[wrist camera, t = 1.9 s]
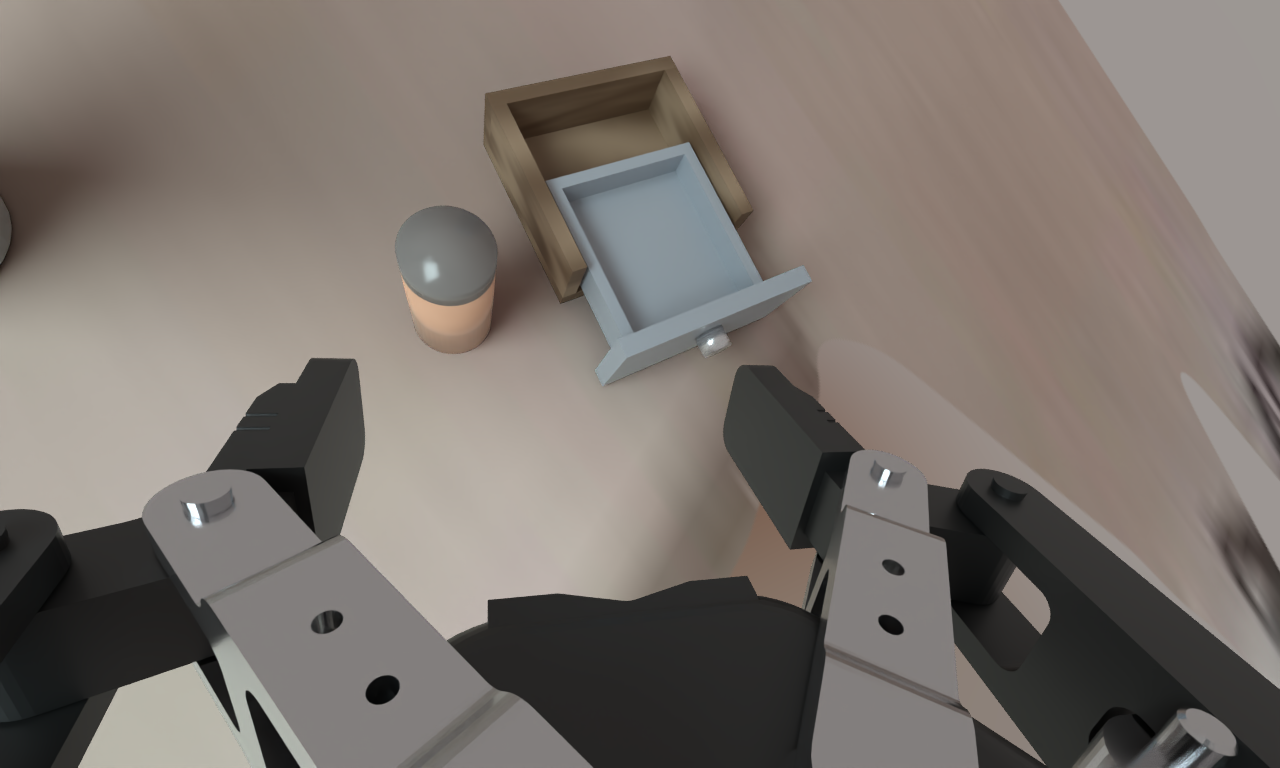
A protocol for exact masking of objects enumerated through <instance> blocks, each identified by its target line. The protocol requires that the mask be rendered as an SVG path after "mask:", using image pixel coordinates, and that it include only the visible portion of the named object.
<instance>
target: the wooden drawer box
mask: <svg viewBox="0 0 1280 768" xmlns="http://www.w3.org/2000/svg"><path fill="white" fill-rule="evenodd" d="M687 142H689V143H690V145H691V147H692V149H693V151H694V152H695V154H696V156H697V158H698V160H699V162H700V164H701V166H702V167H703V169H704V171H705V173H706V175H707V177H708V179H709V181H710V183H711V184H712V186H713V188H714V190H715V192H716V194H717V196H718V198H719V199H720V201H721V203H722V205H723V207H724V209H725V211H726V213H727V214H728V216H729V218H730V220H731V222H732V224H733V226H734V228H735V230H737V229H738V228H739V227H740V226H741V224H742V223H743V222H744V221H745V220H746V219H747V217H748V216H749V215H750V214H751V213H752V212H753V209H752V207H751V205H750V203H749V201H748V199H747V198H746V196H745V194H744V192H743V190H742V188H741V186H740V185H739V183H738V181H737V179H736V177H735V175H734V173H733V172H732V170H731V168H730V166H729V164H728V162H727V160H726V159H725V157H724V155H723V153H722V151H721V149H720V147H719V146H718V144H717V142H716V140H715V138H714V136H713V134H712V133H711V131H710V129H709V127H708V125H707V123H706V121H705V120H704V118H703V116H702V114H701V112H700V110H699V108H698V107H697V105H696V103H695V101H694V99H693V97H692V95H691V94H690V92H689V90H688V88H687V86H686V84H685V82H684V81H683V79H682V77H681V75H680V73H679V71H678V69H677V68H676V66H675V64H674V62H673V60H672V58H671V56H668V57H663V58H658V59H653V60H648V61H643V62H638V63H633V64H628V65H623V66H618V67H613V68H609V69H604V70H599V71H594V72H589V73H584V74H579V75H574V76H569V77H564V78H559V79H555V80H550V81H545V82H540V83H535V84H530V85H525V86H520V87H515V88H510V89H505V90H500V91H496V92H491V93H486V94H485V117H484V146H485V148H486V150H487V152H488V155H489V157H490V159H491V161H492V163H493V165H494V167H495V169H496V171H497V173H498V175H499V177H500V179H501V181H502V184H503V186H504V188H505V190H506V192H507V194H508V196H509V198H510V200H511V202H512V204H513V206H514V208H515V210H516V213H517V215H518V217H519V219H520V221H521V223H522V225H523V227H524V229H525V231H526V233H527V235H528V237H529V239H530V241H531V244H532V246H533V248H534V250H535V252H536V254H537V256H538V258H539V260H540V262H541V264H542V266H543V268H544V270H545V273H546V275H547V277H548V279H549V281H550V283H551V285H552V287H553V289H554V291H555V293H556V295H557V297H558V299H559V302H560V304H561V303H564V302H566V301H569V300H572V299H575V298H578V297H580V296H583V295H585V294H584V292H583V290H582V288H581V286H580V283H581V280H582V278H583V276H584V273H585V271H586V269H587V265H586V263H585V261H584V259H583V257H582V255H581V253H580V251H579V249H578V247H577V245H576V243H575V241H574V239H573V237H572V235H571V233H570V231H569V229H568V227H567V225H566V223H565V221H564V219H563V217H562V215H561V213H560V211H559V209H558V207H557V205H556V203H555V201H554V199H553V197H552V194H551V192H550V190H549V188H548V186H547V184H546V182H545V181H547V180H551V179H555V178H558V177H562V176H566V175H570V174H573V173H577V172H581V171H584V170H588V169H592V168H595V167H599V166H603V165H606V164H610V163H614V162H617V161H621V160H625V159H628V158H632V157H636V156H639V155H643V154H647V153H651V152H654V151H658V150H662V149H665V148H669V147H673V146H676V145H680V144H684V143H687Z"/></svg>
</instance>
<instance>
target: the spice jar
mask: <svg viewBox="0 0 1280 768" xmlns="http://www.w3.org/2000/svg"><path fill="white" fill-rule="evenodd" d="M395 252H396V257H397V261H398V265H399V269H400V273H401V277H402V281H403V284H404V288H405V292H406V296H407V300H408V304H409V308H410V312H411V315H412V319H413V323H414V327H415V330H416V332H417V334H418V336H419V337H420V339H421V340H422V341H423V342H424V343H425V344H426V345H428V346H429V347H431V348H432V349H434V350H436V351H439V352H442V353H447V354H459V353H464V352H468V351H470V350H472V349H474V348H476V347H477V346H478V345H480V344H481V343H482V342H483V341H484V339H485V338H486V336H487V335H488V333H489V330H490V326H491V318H492V308H493V297H494V287H495V277H496V266H497V254H498V251H497V244H496V240H495V238H494V235H493V234H492V232H491V230H490V229H489V227H488V226H487V225H486V224H485V223H484V222H483V221H482V220H481V219H480V218H479V217H477V216H476V215H474V214H472V213H470V212H468V211H466V210H464V209H461V208H457V207H452V206H434V207H429V208H426V209H423V210H421V211H419V212H417V213H415V214H413V215H412V216H411V217H410V218H408V219H407V220H406V221H405V222H404V224H403V225H402V226H401V228H400V230H399V232H398V234H397V238H396V243H395Z"/></svg>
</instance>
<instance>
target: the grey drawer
mask: <svg viewBox="0 0 1280 768" xmlns="http://www.w3.org/2000/svg"><path fill="white" fill-rule="evenodd" d="M545 182H546V184H547V186H548V188H549V190H550V192H551V194H552V197H553V199H554V201H555V203H556V205H557V207H558V209H559V211H560V213H561V215H562V217H563V219H564V221H565V223H566V225H567V227H568V229H569V231H570V233H571V235H572V237H573V239H574V241H575V243H576V245H577V247H578V249H579V251H580V253H581V255H582V257H583V259H584V261H585V263H586V265H587V269H586V271H585V273H584V276H583V278H582V280H581V283H580V286H581V288H582V290H583V292H584V294H585V296H586V298H587V301H588V303H589V305H590V307H591V309H592V311H593V313H594V315H595V317H596V319H597V321H598V323H599V325H600V327H601V329H602V331H603V333H604V335H605V337H606V339H607V341H608V343H609V345H610V348H611V349H610V350H609V352H608V353H607V354H606V356H605V357H604V359H603V360H602V361H601V363H600V364H599V365H598V367H597V368H596V369H595V372H596V374H597V376H598V378H599V380H600V382H601V384H602V386H605V385H607V384H609V383H612V382H614V381H616V380H619V379H621V378H623V377H626V376H628V375H630V374H633V373H635V372H637V371H640V370H642V369H644V368H647V367H649V366H651V365H654V364H656V363H658V362H661V361H663V360H665V359H668V358H670V357H672V356H675V355H677V354H679V353H682V352H684V351H686V350H689V349H691V348H693V347H696V346H698V347H699V349H700V351H701V353H702V355H703V357H704V358H708V357H710V356H713V355H715V354H717V353H719V352H721V351H723V350H725V349H726V348H728V347H729V346H731V345H732V343H731V341H730V339H729V337H728V336H727V334H726V333H728V332H731V331H733V330H735V329H738V328H740V327H742V326H745V325H747V324H749V323H752V322H754V321H756V320H759V319H761V318H763V317H765V316H767V315H768V314H769V313H771V312H772V311H773V310H775V309H776V308H777V307H779V306H780V305H781V304H782V303H784V302H785V301H786V300H788V299H789V298H790V297H792V296H793V295H794V294H796V293H797V292H798V291H800V290H801V289H802V288H804V287H805V286H806V285H807V284H809V283H810V282H811V281H812V280H811V278H810V276H809V274H808V273H807V271H806V269H805V267H804V265H802V266H800V267H797V268H795V269H792V270H790V271H787V272H785V273H782V274H780V275H777V276H775V277H772V278H770V279H767V280H765V281H763V280H762V278H761V276H760V275H759V273H758V271H757V269H756V267H755V265H754V263H753V261H752V260H751V258H750V256H749V254H748V252H747V250H746V248H745V246H744V245H743V243H742V241H741V239H740V237H739V235H738V233H737V231H736V230H735V228H734V226H733V224H732V222H731V220H730V218H729V216H728V214H727V213H726V211H725V209H724V207H723V205H722V203H721V201H720V199H719V198H718V196H717V194H716V192H715V190H714V188H713V186H712V184H711V183H710V181H709V179H708V177H707V175H706V173H705V171H704V169H703V167H702V166H701V164H700V162H699V160H698V158H697V156H696V154H695V152H694V151H693V149H692V147H691V145H690V143H689V142H687V143H684V144H680V145H676V146H673V147H669V148H665V149H662V150H658V151H654V152H651V153H647V154H643V155H639V156H636V157H632V158H628V159H625V160H621V161H617V162H614V163H610V164H606V165H603V166H599V167H595V168H592V169H588V170H584V171H581V172H577V173H573V174H570V175H566V176H562V177H558V178H555V179H551V180H547V181H545Z"/></svg>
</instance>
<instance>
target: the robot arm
mask: <svg viewBox="0 0 1280 768" xmlns="http://www.w3.org/2000/svg"><path fill="white" fill-rule="evenodd" d="M11 230H12V226H11V221H10V216H9V211H8V210H7V208H6V206H5V204H4V202H3V200H2V198H1V197H0V264H1V262H2V261H3V260H4V258H5V255H6V253H7V250H8V248H9V245H10V240H11ZM236 428H237V430H236V431H234V432H233V433H232V434H231V436H230V437H229V439H228V440H227V442H226V443H225V445H224V446H223V448H222V449H221V451H220V452H219V454H218V455H217V457H216V458H215V460H214V461H213V463H212V464H211V465H210V467H209V468H208V470H207V471H206V472H204V473H200V474H196V475H193V476H190V477H187V478H184V479H182V480H179V481H177V482H175V483H173V484H171V485H169V486H167V487H166V488H164V489H162V490H161V491H159V492H158V493H157V494H155V495H154V496H153V497H152V498H151V499H150V500H149V501H148V503H147V504H146V506H145V507H144V510H143V512H142V518H138V519H135V520H132V521H128V522H124V523H119V524H115V525H110V526H106V527H101V528H97V529H92V530H88V531H83V532H79V533H74V534H70V535H65V536H63V535H62V533H61V530H60V528H59V526H58V524H57V522H56V520H55V518H53V517H52V516H51V515H49V514H47V513H45V512H41V511H37V510H27V509H15V510H4V511H0V768H78V766H79V764H80V762H81V760H82V758H83V756H84V754H85V752H86V750H87V748H88V746H89V744H90V742H91V740H92V738H93V736H94V734H95V733H96V731H97V729H98V727H99V725H100V723H101V721H102V719H103V717H104V715H105V713H106V711H107V709H108V707H109V705H110V703H111V701H112V699H113V697H114V695H115V693H116V691H117V689H118V688H119V687H122V686H125V685H128V684H131V683H134V682H137V681H140V680H143V679H146V678H149V677H152V676H155V675H158V674H161V673H164V672H167V671H169V670H172V669H175V668H178V667H181V666H184V665H187V664H190V663H192V664H193V666H194V668H195V670H196V672H197V673H198V675H199V677H200V679H201V680H202V682H203V684H204V685H205V687H206V689H207V691H208V692H209V694H210V696H211V697H212V699H213V701H214V703H215V704H216V706H217V708H218V710H219V711H220V713H221V715H222V716H223V718H224V720H225V722H226V723H227V725H228V727H229V728H230V730H231V732H232V734H233V735H234V737H235V739H236V741H237V742H238V744H239V746H240V747H241V749H242V751H243V753H244V755H245V757H246V759H247V761H248V763H249V765H250V767H251V768H1280V689H1278V688H1277V687H1276V686H1275V685H1274V684H1272V683H1271V682H1270V681H1269V680H1268V679H1266V678H1265V677H1264V676H1263V675H1261V674H1260V673H1259V672H1258V671H1257V670H1255V669H1254V668H1253V667H1252V666H1250V665H1249V664H1248V663H1247V662H1246V661H1244V660H1243V659H1242V658H1241V657H1239V656H1238V655H1237V654H1236V653H1235V652H1233V651H1232V650H1231V649H1230V648H1228V647H1227V646H1226V645H1225V644H1224V643H1222V642H1221V641H1220V640H1219V639H1218V638H1216V637H1215V636H1214V635H1213V634H1211V633H1210V632H1209V631H1208V630H1206V629H1205V628H1204V627H1203V626H1202V625H1200V624H1199V623H1198V622H1197V621H1196V620H1194V619H1193V618H1192V617H1191V616H1189V615H1188V614H1187V613H1186V612H1185V611H1183V610H1182V609H1181V608H1180V607H1179V606H1177V605H1176V604H1175V603H1174V602H1172V601H1171V600H1170V599H1169V598H1168V597H1166V596H1165V595H1164V594H1163V593H1161V592H1160V591H1159V590H1158V589H1157V588H1155V587H1154V586H1153V585H1152V584H1150V583H1149V582H1148V581H1147V580H1146V579H1144V578H1143V577H1142V576H1141V575H1140V574H1138V573H1137V572H1136V571H1135V570H1133V569H1132V568H1131V567H1129V566H1128V565H1127V564H1126V563H1125V562H1124V561H1122V560H1121V559H1120V558H1118V557H1117V556H1116V555H1115V554H1114V553H1113V552H1111V551H1110V550H1109V549H1108V548H1106V547H1105V546H1104V545H1103V544H1102V543H1101V542H1099V541H1098V540H1097V539H1096V538H1094V537H1093V536H1092V535H1091V534H1089V533H1088V532H1087V531H1086V530H1085V529H1083V528H1082V527H1081V526H1080V525H1079V524H1077V523H1076V522H1075V521H1074V520H1072V519H1071V518H1070V517H1069V516H1068V515H1066V514H1065V513H1064V512H1063V511H1061V510H1060V509H1059V508H1058V507H1057V506H1055V505H1054V504H1053V503H1052V502H1051V501H1049V500H1048V499H1047V498H1045V497H1044V496H1043V495H1042V494H1041V493H1040V492H1038V491H1037V490H1036V489H1034V488H1033V487H1031V486H1030V485H1028V484H1027V483H1025V482H1023V481H1021V480H1019V479H1017V478H1015V477H1013V476H1010V475H1008V474H1005V473H1002V472H998V471H994V470H989V469H975V470H972V471H970V472H969V473H968V474H967V476H966V478H965V480H964V482H963V484H962V486H961V488H960V490H958V489H952V488H946V487H940V486H934V485H929V484H927V480H926V478H925V476H924V475H923V473H922V472H921V471H920V470H919V469H918V468H916V467H915V466H914V465H912V464H911V463H909V462H908V461H906V460H904V459H902V458H900V457H898V456H895V455H893V454H890V453H886V452H883V451H878V450H865V449H864V448H863V447H862V446H861V445H860V444H859V443H858V442H857V441H856V440H855V439H854V438H853V437H852V436H851V435H850V434H849V433H848V432H847V431H846V430H845V429H844V428H843V427H842V426H841V425H840V424H839V423H838V422H837V423H836V422H835V419H834V418H833V417H832V416H831V415H830V414H829V413H828V412H825V409H824V408H823V407H822V406H821V405H820V404H819V403H818V402H817V401H816V400H815V399H814V398H813V397H812V396H810V395H808V394H807V393H805V392H803V391H802V390H800V389H798V388H796V387H795V386H793V385H792V384H791V383H790V382H789V380H788V379H787V378H786V377H785V376H784V375H783V374H782V373H781V372H780V371H779V370H778V369H777V368H776V367H775V366H768V365H742V366H740V367H739V368H738V370H737V372H736V375H735V378H734V383H733V387H732V391H731V396H730V400H729V404H728V408H727V413H726V417H725V421H724V428H723V436H724V443H725V446H726V449H727V451H728V452H729V454H730V456H731V457H732V459H733V460H734V462H735V463H736V465H737V467H738V468H739V470H740V471H741V473H742V475H743V476H744V478H745V479H746V481H747V482H748V484H749V486H750V487H751V489H752V490H753V492H754V494H755V495H756V497H757V498H758V500H759V501H760V503H761V505H762V506H763V508H764V509H765V511H766V512H767V514H768V516H769V517H770V519H771V520H772V522H773V523H774V525H775V526H776V528H777V530H778V531H779V533H780V534H781V536H782V538H783V539H784V541H785V543H786V544H787V546H788V547H789V549H802V548H815V549H816V551H817V552H816V555H815V558H814V560H813V563H812V566H811V570H810V575H809V579H808V584H807V588H806V592H805V597H804V601H803V605H802V608H799V607H797V606H794V605H792V604H789V603H786V602H783V601H780V600H776V599H772V598H767V597H763V596H757V594H756V592H755V590H754V588H753V586H752V584H751V582H750V581H749V579H748V577H747V576H740V577H730V578H719V579H708V580H698V581H689V582H686V583H683V584H680V585H677V586H674V587H671V588H668V589H665V590H662V591H659V592H656V593H653V594H651V595H648V596H645V597H642V598H639V599H636V600H632V601H619V600H610V599H601V598H593V597H584V596H575V595H566V594H548V595H537V596H526V597H515V598H505V599H494V600H488V622H487V623H484V624H481V625H478V626H476V627H473V628H471V629H468V630H466V631H464V632H462V633H459V634H457V635H455V636H454V637H452V638H450V639H448V640H447V641H446V640H445V639H444V638H443V636H442V635H441V634H440V633H439V632H438V631H437V630H436V629H435V628H434V627H433V626H432V625H431V624H430V623H429V622H428V621H427V620H426V619H425V618H424V617H423V616H422V615H421V614H420V613H419V612H418V611H417V610H416V609H415V608H414V607H413V606H412V605H411V604H410V603H409V602H408V601H407V600H406V599H405V598H404V596H403V595H402V594H401V593H400V592H399V591H398V590H397V589H396V588H395V587H394V586H393V585H392V584H391V583H390V582H389V581H388V580H387V579H386V578H385V577H384V576H383V575H382V574H381V573H380V572H379V571H378V570H377V569H376V568H375V567H374V566H373V565H372V564H371V563H370V562H369V561H368V560H367V559H366V557H365V556H364V555H363V554H362V553H361V552H360V551H359V550H358V549H357V548H356V547H355V546H354V545H353V544H352V543H351V542H350V541H349V540H348V539H346V538H345V537H343V536H341V535H340V533H341V529H342V526H343V523H344V519H345V516H346V513H347V509H348V506H349V503H350V500H351V496H352V493H353V490H354V486H355V483H356V480H357V477H358V473H359V470H360V467H361V463H362V460H363V455H364V447H365V428H364V418H363V409H362V399H361V390H360V380H359V371H358V366H357V362H356V360H355V359H336V358H311V359H310V360H309V362H308V364H307V365H306V367H305V369H304V370H303V372H302V374H301V376H300V377H299V379H298V381H297V382H296V383H279V384H277V385H276V386H274V387H272V388H271V389H269V390H268V391H266V392H264V393H263V394H261V395H260V396H258V397H257V398H256V399H255V401H254V402H253V403H252V405H251V406H250V408H249V409H248V411H247V412H246V417H243V418H242V420H241V421H240V423H239V424H238V426H237V427H236ZM1016 566H1017V567H1018V569H1019V570H1021V571H1022V573H1023V574H1024V575H1025V576H1026V577H1028V579H1029V580H1031V582H1032V583H1033V584H1034V585H1036V587H1037V588H1038V589H1039V590H1040V591H1041V592H1042V593H1043V594H1044V596H1045V597H1046V599H1047V601H1048V604H1049V607H1050V613H1051V616H1050V621H1049V624H1048V626H1047V627H1046V629H1045V630H1044V632H1043V633H1042V635H1041V634H1040V633H1039V632H1038V631H1037V630H1036V629H1035V628H1034V627H1033V626H1032V624H1031V623H1030V622H1029V621H1028V620H1027V619H1026V618H1025V617H1024V616H1023V615H1022V614H1021V612H1020V611H1019V610H1018V609H1017V608H1016V607H1015V606H1014V605H1013V604H1012V603H1011V602H1010V601H1009V599H1008V598H1007V597H1006V596H1005V595H1004V594H1003V593H1002V590H1003V589H1004V587H1005V585H1006V583H1007V582H1008V580H1009V578H1010V576H1011V575H1012V573H1013V572H1014V569H1015V568H1016ZM954 643H955V644H956V646H957V647H958V648H959V650H960V651H961V652H962V654H963V655H964V656H965V658H966V659H967V660H968V661H969V663H970V664H971V666H972V667H973V668H974V670H975V671H976V672H977V674H978V675H979V676H980V678H981V679H982V680H983V681H984V683H985V684H986V686H987V687H988V688H989V690H990V691H991V692H992V693H993V695H994V696H995V698H996V699H997V700H998V702H999V703H1000V704H1001V705H1002V707H1003V708H1004V710H1005V711H1006V712H1007V714H1008V715H1009V716H1010V718H1011V719H1012V720H1013V721H1014V723H1015V724H1016V726H1017V727H1018V728H1019V730H1020V731H1021V732H1022V733H1023V735H1024V736H1025V738H1026V739H1027V740H1028V741H1029V743H1030V744H1031V746H1032V747H1033V748H1034V750H1035V751H1036V752H1037V754H1038V755H1039V756H1040V758H1041V759H1042V760H1043V761H1044V763H1045V764H1046V765H1044V764H1043V763H1041V762H1040V761H1038V760H1037V759H1035V758H1033V757H1032V756H1030V755H1029V754H1027V753H1026V752H1024V751H1023V750H1021V749H1020V748H1018V747H1017V746H1015V745H1014V744H1012V743H1011V742H1009V741H1008V740H1006V739H1005V738H1003V737H1001V736H1000V735H998V734H997V733H995V732H994V731H992V730H991V729H989V728H988V727H986V726H985V725H983V724H982V723H980V722H979V721H977V720H975V719H974V718H972V717H971V715H970V713H969V712H968V710H967V709H965V708H964V707H963V706H962V705H961V703H960V701H959V696H958V685H957V672H956V660H955V649H954Z"/></svg>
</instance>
